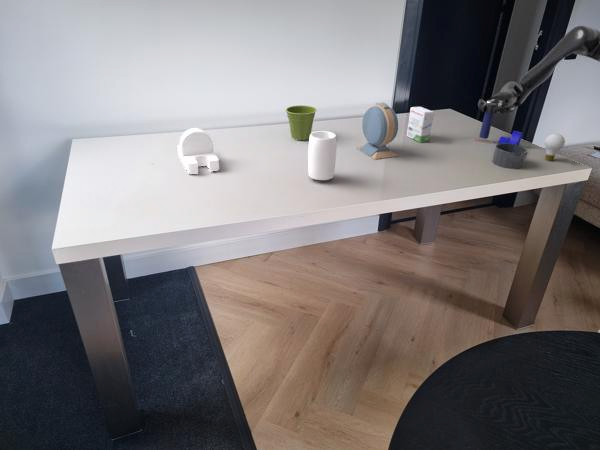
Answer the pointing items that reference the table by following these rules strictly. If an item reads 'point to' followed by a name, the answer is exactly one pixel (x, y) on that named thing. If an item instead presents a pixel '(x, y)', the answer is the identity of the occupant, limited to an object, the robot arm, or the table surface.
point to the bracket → (197, 150)
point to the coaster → (482, 140)
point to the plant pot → (301, 121)
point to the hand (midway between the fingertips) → (488, 110)
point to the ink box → (420, 124)
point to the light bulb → (553, 145)
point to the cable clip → (512, 138)
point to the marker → (487, 120)
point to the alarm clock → (379, 131)
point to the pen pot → (509, 155)
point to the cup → (322, 155)
